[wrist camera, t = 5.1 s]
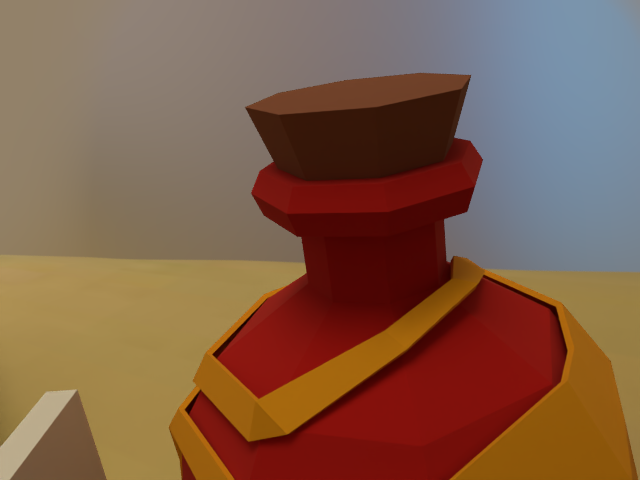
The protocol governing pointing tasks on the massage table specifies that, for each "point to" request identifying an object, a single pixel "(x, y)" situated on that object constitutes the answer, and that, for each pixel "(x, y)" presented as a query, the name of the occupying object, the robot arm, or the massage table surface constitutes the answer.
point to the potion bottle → (393, 318)
